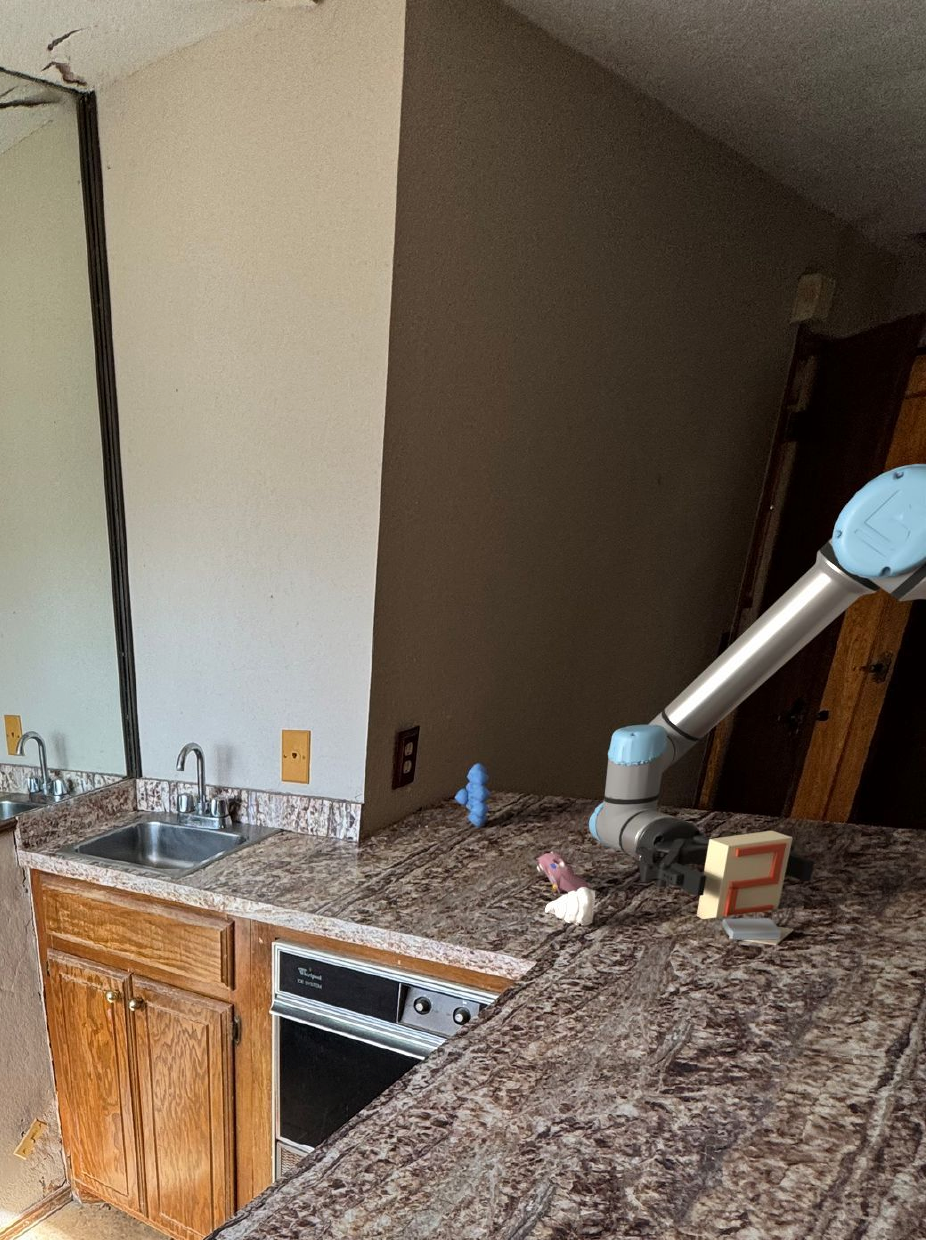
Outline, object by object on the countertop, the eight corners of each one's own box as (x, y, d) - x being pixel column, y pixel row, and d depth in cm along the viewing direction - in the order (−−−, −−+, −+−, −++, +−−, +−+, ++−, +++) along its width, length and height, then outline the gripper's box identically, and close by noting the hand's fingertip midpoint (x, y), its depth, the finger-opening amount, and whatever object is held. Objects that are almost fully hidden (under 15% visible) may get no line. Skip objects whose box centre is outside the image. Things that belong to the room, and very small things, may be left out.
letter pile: (784, 930, 115) (788, 908, 114) (840, 956, 107) (846, 932, 105) (689, 942, 116) (693, 920, 115) (737, 968, 108) (742, 945, 106)
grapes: (449, 819, 187) (451, 761, 182) (484, 816, 185) (487, 758, 180) (457, 833, 177) (459, 772, 172) (493, 830, 175) (497, 768, 170)
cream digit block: (756, 908, 123) (771, 830, 118) (778, 918, 119) (795, 838, 114) (696, 916, 123) (709, 838, 119) (716, 926, 119) (731, 846, 115)
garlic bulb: (544, 917, 131) (547, 882, 129) (590, 918, 128) (594, 882, 126) (543, 930, 127) (546, 894, 125) (591, 931, 124) (595, 894, 122)
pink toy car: (546, 889, 146) (528, 854, 144) (574, 875, 144) (557, 839, 142) (563, 908, 137) (544, 871, 135) (593, 893, 135) (575, 856, 133)
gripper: (742, 853, 136) (848, 892, 117) (575, 876, 138) (653, 918, 119) (751, 804, 133) (861, 837, 114) (580, 828, 135) (661, 864, 116)
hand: (755, 878), depth 117 cm, fingers open, 13 cm apart
